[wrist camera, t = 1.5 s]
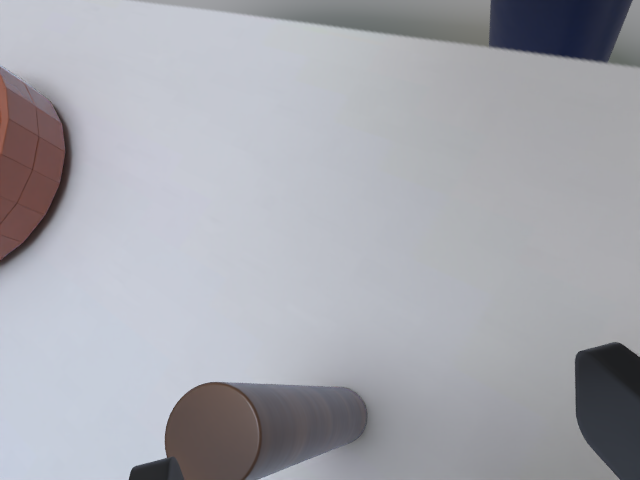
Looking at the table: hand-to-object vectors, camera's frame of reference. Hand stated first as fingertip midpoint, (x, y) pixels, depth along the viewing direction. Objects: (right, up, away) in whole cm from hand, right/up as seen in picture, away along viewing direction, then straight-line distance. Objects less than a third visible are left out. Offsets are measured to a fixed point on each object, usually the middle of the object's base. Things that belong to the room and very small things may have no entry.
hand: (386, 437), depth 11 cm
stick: (0, -6, +20) cm, 21 cm away
